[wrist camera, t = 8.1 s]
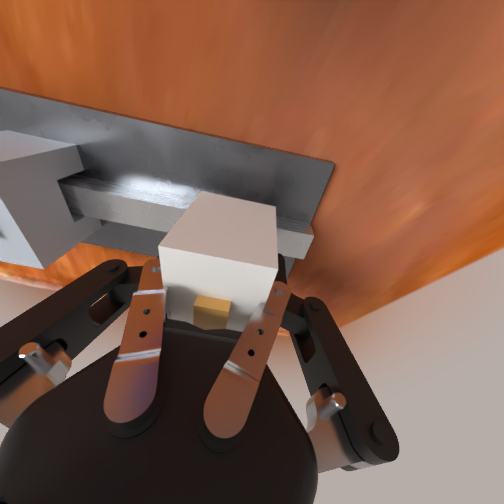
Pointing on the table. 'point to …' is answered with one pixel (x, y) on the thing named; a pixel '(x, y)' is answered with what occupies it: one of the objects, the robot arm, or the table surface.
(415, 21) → the table surface
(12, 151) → the mounted module
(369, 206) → the table surface
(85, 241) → the rail
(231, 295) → the block
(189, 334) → the robot arm
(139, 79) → the table surface
